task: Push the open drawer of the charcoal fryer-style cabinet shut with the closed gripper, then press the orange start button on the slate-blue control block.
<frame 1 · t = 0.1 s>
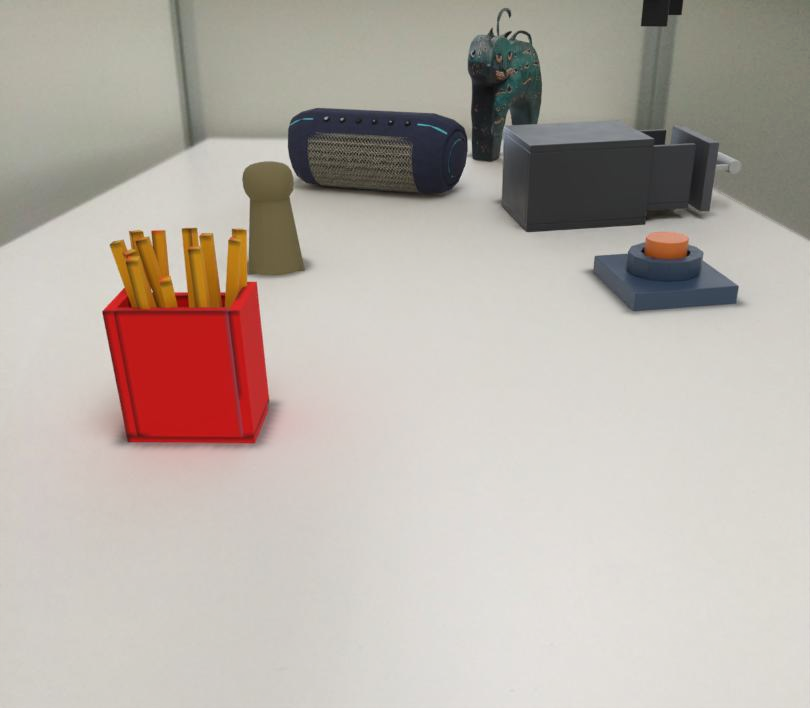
hand: (662, 20, 110), 21 cm above the table, tool pointing down, fingers open, 13 cm apart
start button: (666, 246, 93), point 4 cm above the table, slide at 0.1 cm
cork: (276, 273, 103), on the table
french fries container: (202, 431, 72), on the table
portable speaker: (375, 190, 133), on the table
control block: (660, 292, 95), on the table
fryer: (570, 214, 120), on the table
green animal figurine: (502, 151, 153), on the table
drawer: (659, 169, 119), point 5 cm above the table, slide at 7.0 cm
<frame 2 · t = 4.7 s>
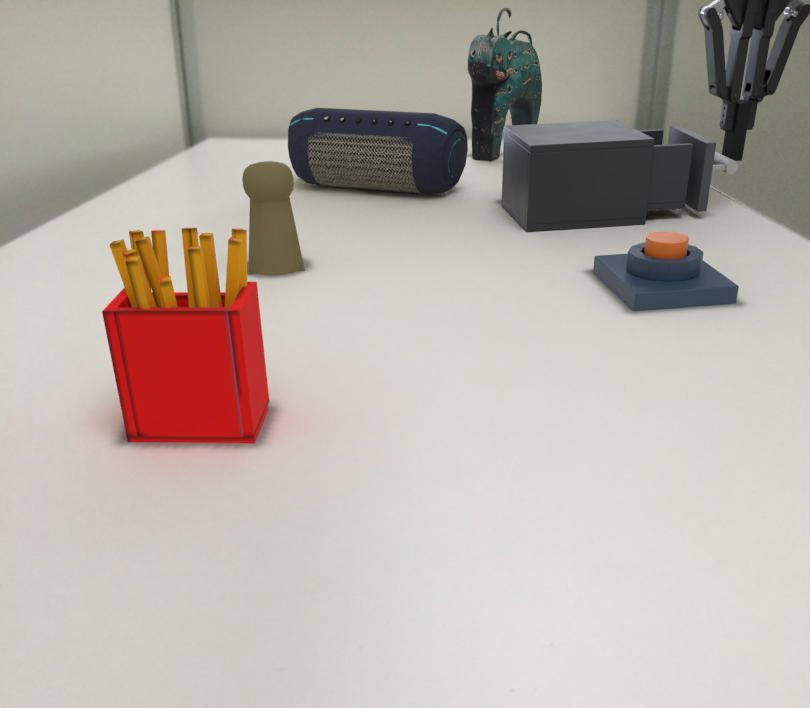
hand: (731, 158, 119), 6 cm above the table, tool pointing down, fingers closed
drawer: (656, 169, 119), point 5 cm above the table, slide at 6.6 cm, touching gripper
everything else where it was.
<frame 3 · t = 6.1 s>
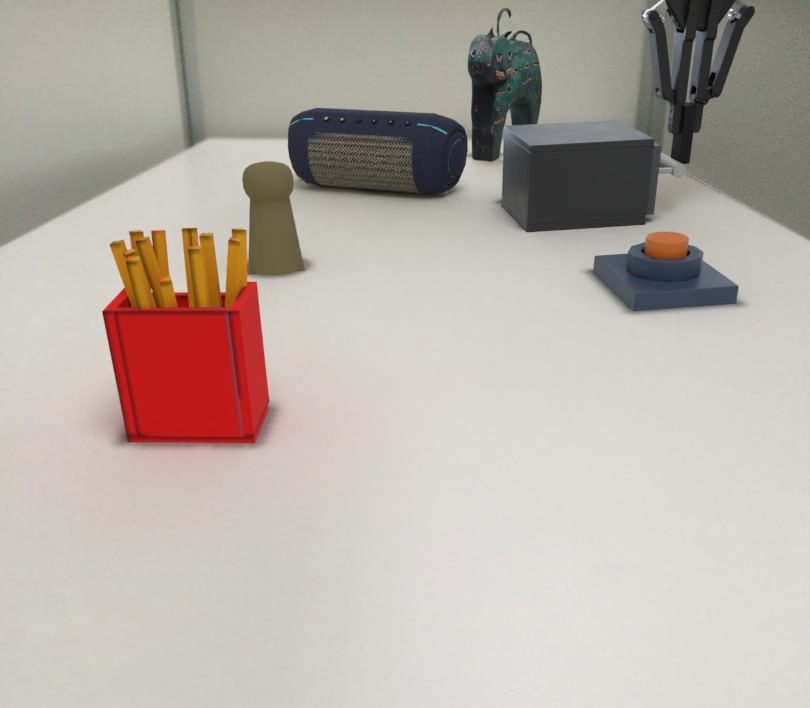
hand: (679, 161, 119), 6 cm above the table, tool pointing down, fingers closed
drawer: (604, 172, 118), point 5 cm above the table, slide at 0.0 cm, touching fryer, gripper
everything else where it was.
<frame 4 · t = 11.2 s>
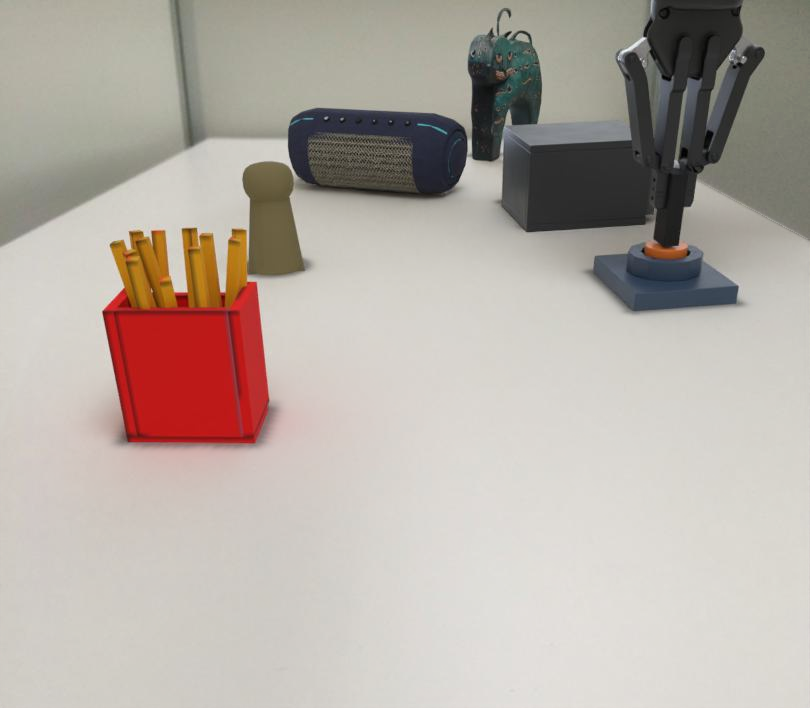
hand: (665, 242, 92), 5 cm above the table, tool pointing down, fingers closed
start button: (665, 253, 93), point 4 cm above the table, slide at -0.6 cm, touching gripper
drawer: (604, 172, 118), point 5 cm above the table, slide at 0.0 cm, touching fryer
everything else where it was.
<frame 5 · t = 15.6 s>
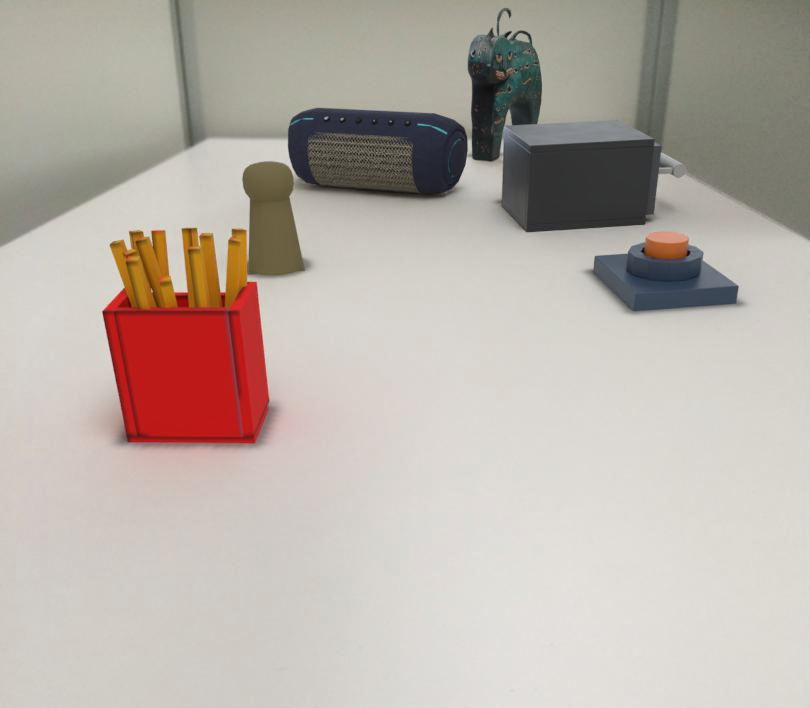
start button: (666, 246, 93), point 4 cm above the table, slide at 0.1 cm
everything else where it was.
at the end: drawer slide at 0.0 cm; start button pushed in 1.0 cm at the most during the clip, back to where it started at the end; start button slide at 0.1 cm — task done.
